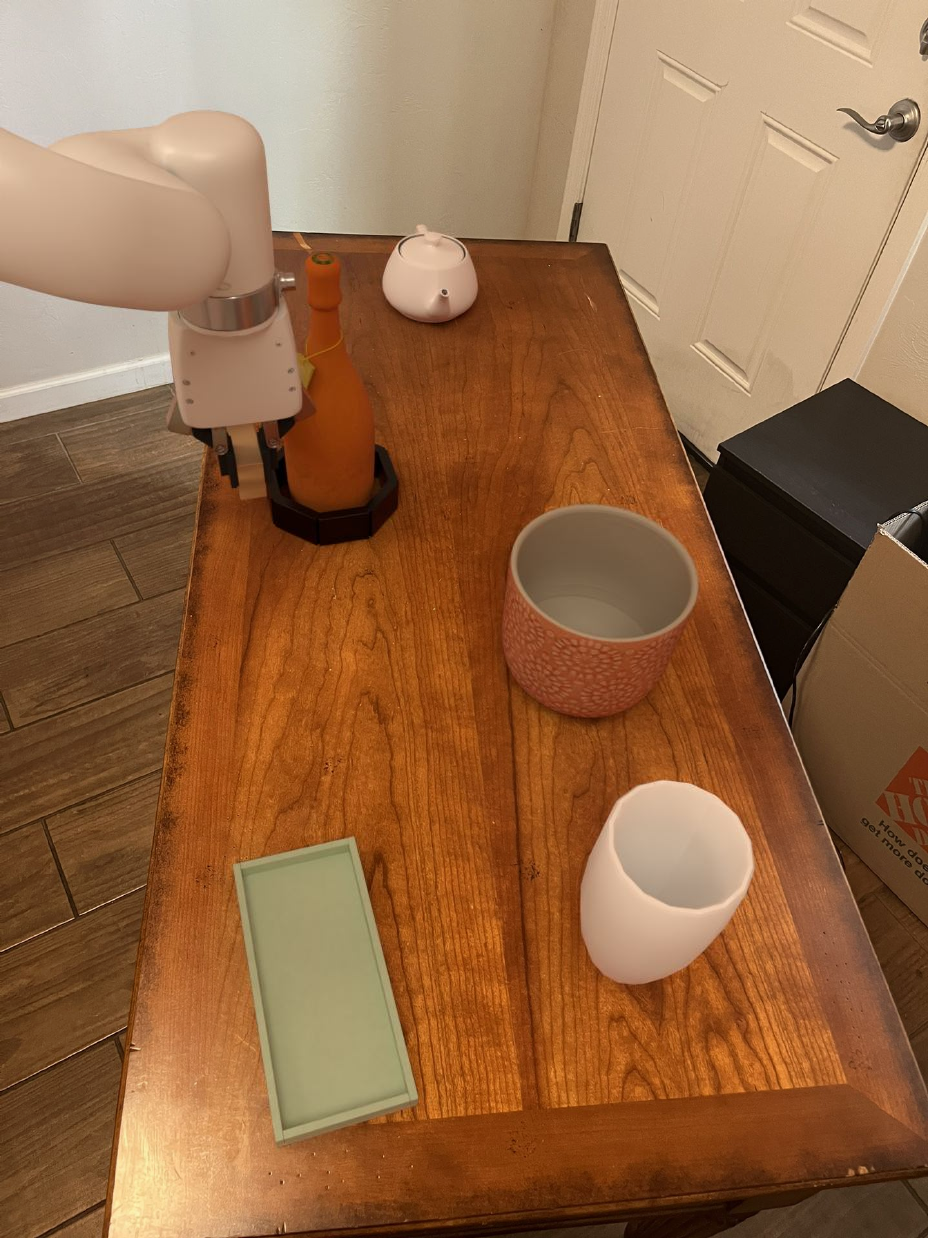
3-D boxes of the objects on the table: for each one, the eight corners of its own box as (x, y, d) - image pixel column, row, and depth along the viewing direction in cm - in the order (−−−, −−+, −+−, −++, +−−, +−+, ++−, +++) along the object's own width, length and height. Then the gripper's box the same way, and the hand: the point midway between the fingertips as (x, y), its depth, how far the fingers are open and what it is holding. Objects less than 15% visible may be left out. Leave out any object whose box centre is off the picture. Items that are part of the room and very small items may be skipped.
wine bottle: (295, 467, 112) (277, 225, 89) (378, 474, 112) (381, 235, 90) (282, 525, 106) (259, 280, 83) (370, 532, 106) (370, 290, 83)
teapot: (373, 268, 142) (374, 198, 134) (462, 266, 145) (468, 198, 137) (393, 353, 129) (395, 281, 120) (490, 350, 131) (499, 278, 123)
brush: (301, 491, 87) (299, 457, 84) (234, 501, 86) (229, 467, 83) (269, 377, 98) (266, 344, 95) (208, 384, 96) (203, 350, 93)
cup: (523, 973, 75) (567, 850, 59) (596, 881, 81) (654, 745, 65) (632, 1063, 72) (710, 958, 55) (700, 960, 77) (790, 838, 61)
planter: (477, 615, 99) (492, 509, 88) (629, 600, 103) (663, 496, 91) (513, 751, 89) (535, 651, 77) (682, 730, 92) (727, 631, 80)
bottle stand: (280, 552, 103) (277, 526, 100) (259, 467, 112) (256, 440, 109) (407, 533, 107) (408, 507, 103) (377, 451, 115) (378, 425, 112)
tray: (277, 1148, 66) (275, 1142, 65) (234, 874, 79) (232, 864, 77) (417, 1105, 69) (418, 1098, 67) (354, 846, 81) (354, 836, 80)
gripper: (321, 259, 76) (328, 438, 90) (113, 276, 72) (155, 461, 86) (341, 310, 71) (345, 491, 85) (120, 331, 68) (163, 517, 82)
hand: (249, 474), depth 86 cm, fingers closed on brush, 2 cm apart
